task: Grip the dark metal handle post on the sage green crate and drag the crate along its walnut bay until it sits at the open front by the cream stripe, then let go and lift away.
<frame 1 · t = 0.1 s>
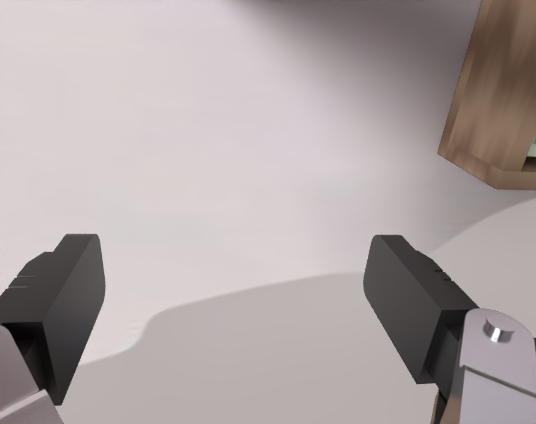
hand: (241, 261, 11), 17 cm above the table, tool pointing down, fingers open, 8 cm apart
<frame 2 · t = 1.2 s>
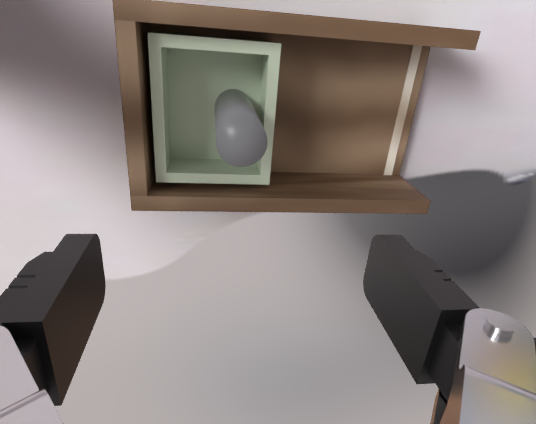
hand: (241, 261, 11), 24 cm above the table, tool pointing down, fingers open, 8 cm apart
bay: (282, 105, 33), on the table
crate: (215, 120, 26), point 7 cm above the table, slide at 0.0 cm
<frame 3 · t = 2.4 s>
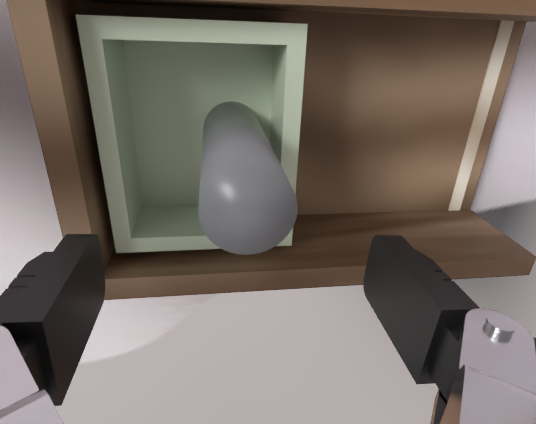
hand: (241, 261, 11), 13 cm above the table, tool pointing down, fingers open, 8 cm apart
bay: (303, 121, 23), on the table
crate: (201, 157, 16), point 7 cm above the table, slide at 0.0 cm
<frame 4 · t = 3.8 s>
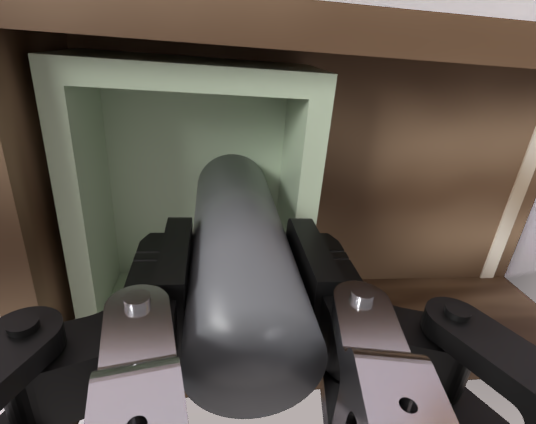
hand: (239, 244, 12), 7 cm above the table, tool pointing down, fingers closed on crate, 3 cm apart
bay: (317, 173, 19), on the table
crate: (192, 238, 12), point 7 cm above the table, slide at 0.0 cm, touching gripper
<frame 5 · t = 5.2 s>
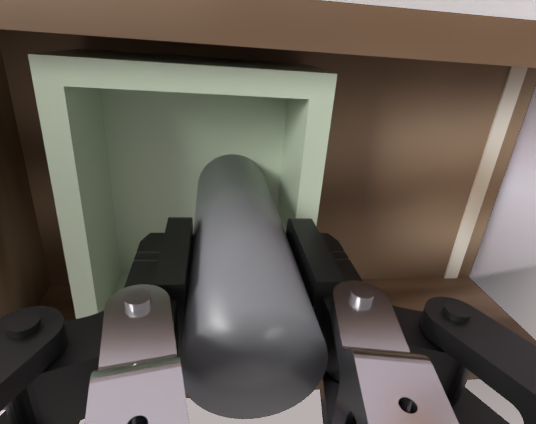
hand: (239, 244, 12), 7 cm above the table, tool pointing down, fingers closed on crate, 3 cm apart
bay: (271, 172, 19), on the table
crate: (192, 238, 12), point 7 cm above the table, slide at 2.4 cm, touching gripper
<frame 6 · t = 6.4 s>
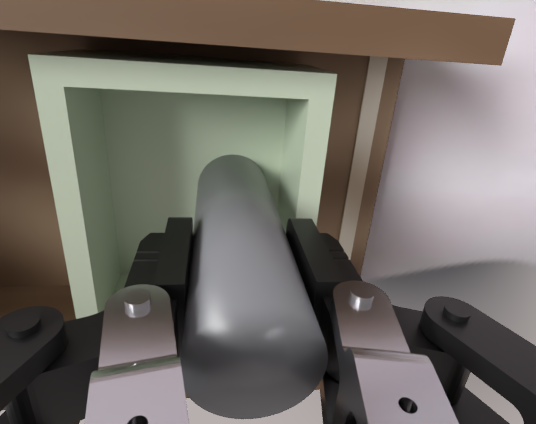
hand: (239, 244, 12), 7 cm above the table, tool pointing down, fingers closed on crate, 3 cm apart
bay: (130, 169, 18), on the table
crate: (192, 238, 12), point 7 cm above the table, slide at 9.1 cm, touching gripper
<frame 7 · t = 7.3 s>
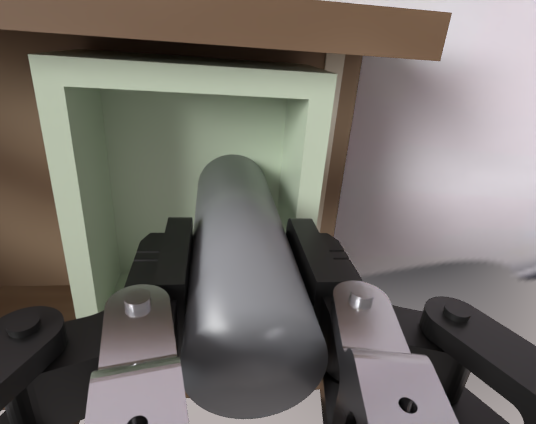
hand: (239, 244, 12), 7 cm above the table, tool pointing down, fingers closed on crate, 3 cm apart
bay: (87, 168, 17), on the table
crate: (192, 238, 12), point 7 cm above the table, slide at 11.0 cm, touching gripper
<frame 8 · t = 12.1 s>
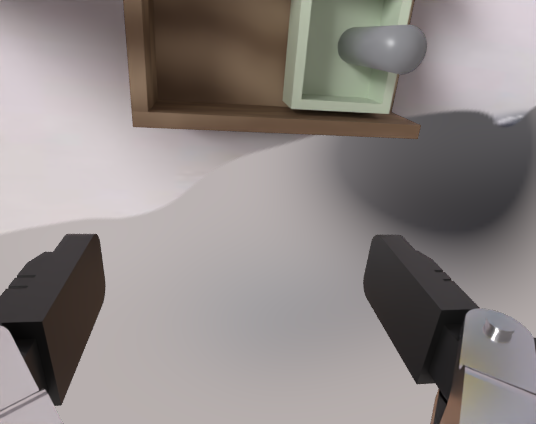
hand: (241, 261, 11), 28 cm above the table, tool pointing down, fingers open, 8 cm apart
bay: (277, 39, 35), on the table
crate: (355, 46, 29), point 7 cm above the table, slide at 11.0 cm
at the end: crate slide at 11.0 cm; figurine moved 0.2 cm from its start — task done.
